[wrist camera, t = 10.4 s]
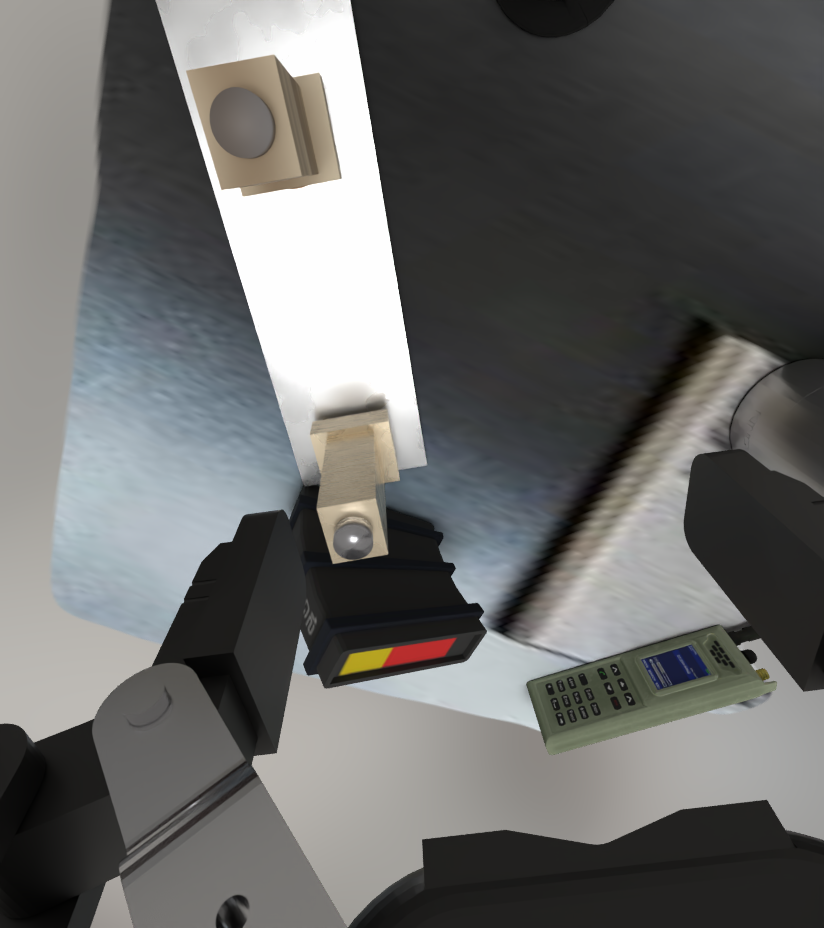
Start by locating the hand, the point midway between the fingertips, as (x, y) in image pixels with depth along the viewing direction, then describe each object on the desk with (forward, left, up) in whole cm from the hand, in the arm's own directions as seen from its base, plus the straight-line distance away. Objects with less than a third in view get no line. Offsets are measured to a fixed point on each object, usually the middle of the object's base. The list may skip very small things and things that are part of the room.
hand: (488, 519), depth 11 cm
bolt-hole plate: (+5, -1, -26) cm, 26 cm away
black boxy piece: (+5, +18, -26) cm, 32 cm away
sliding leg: (+5, -8, -24) cm, 26 cm away
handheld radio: (-18, +38, -26) cm, 50 cm away
